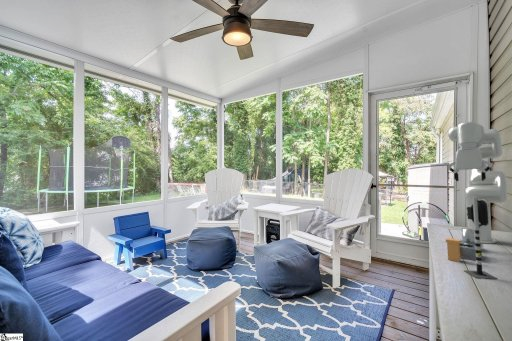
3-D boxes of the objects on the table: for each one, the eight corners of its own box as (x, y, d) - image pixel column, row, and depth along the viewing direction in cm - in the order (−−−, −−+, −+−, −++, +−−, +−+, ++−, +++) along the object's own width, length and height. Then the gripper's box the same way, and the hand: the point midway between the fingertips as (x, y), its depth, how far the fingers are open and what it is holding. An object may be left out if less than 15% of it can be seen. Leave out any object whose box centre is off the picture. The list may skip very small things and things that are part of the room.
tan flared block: (448, 257, 112) (447, 237, 112) (461, 260, 109) (460, 239, 109) (446, 259, 110) (445, 239, 110) (460, 262, 106) (459, 241, 107)
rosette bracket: (456, 244, 132) (455, 226, 132) (484, 248, 124) (483, 228, 124) (449, 256, 114) (447, 234, 115) (480, 261, 106) (479, 238, 107)
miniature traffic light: (499, 279, 88) (494, 197, 89) (475, 278, 90) (470, 197, 91) (484, 271, 96) (479, 195, 97) (462, 270, 97) (458, 196, 98)
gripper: (491, 145, 118) (494, 180, 117) (447, 149, 131) (449, 181, 130) (491, 144, 113) (493, 180, 112) (444, 148, 125) (446, 181, 124)
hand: (469, 180), depth 121 cm, fingers open, 9 cm apart
